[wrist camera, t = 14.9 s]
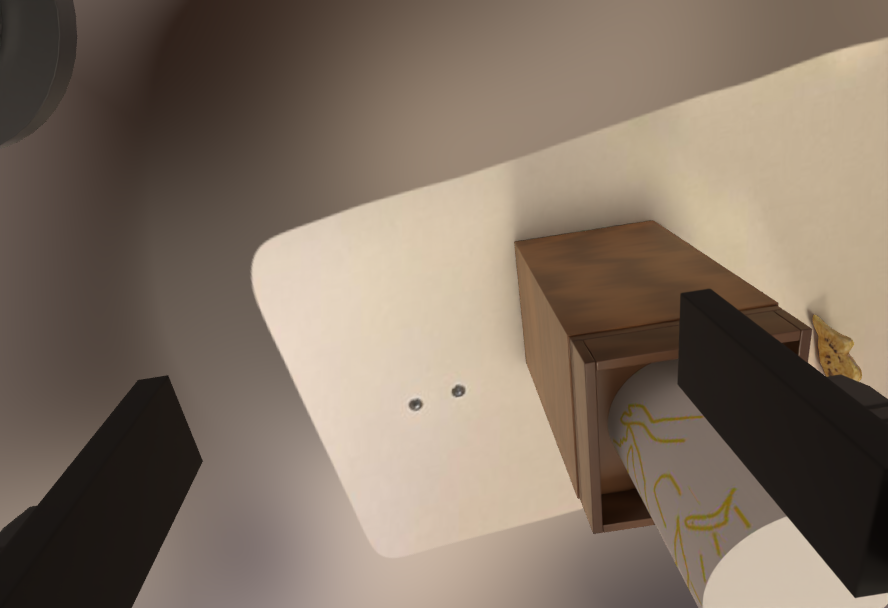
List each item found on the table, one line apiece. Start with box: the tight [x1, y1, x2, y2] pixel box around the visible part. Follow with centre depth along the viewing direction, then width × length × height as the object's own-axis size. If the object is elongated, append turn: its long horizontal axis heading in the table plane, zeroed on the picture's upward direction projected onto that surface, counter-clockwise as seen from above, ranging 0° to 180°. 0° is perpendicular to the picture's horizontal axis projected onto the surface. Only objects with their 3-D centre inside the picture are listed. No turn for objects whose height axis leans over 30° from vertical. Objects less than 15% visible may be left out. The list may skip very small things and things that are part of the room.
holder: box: [569, 305, 812, 534], centre depth 33 cm, size 12×12×3 cm
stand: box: [514, 220, 778, 499], centre depth 42 cm, size 12×12×18 cm
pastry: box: [812, 315, 862, 382], centre depth 52 cm, size 9×2×5 cm, turn 26°
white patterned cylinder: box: [608, 359, 888, 608], centre depth 28 cm, size 8×8×12 cm
